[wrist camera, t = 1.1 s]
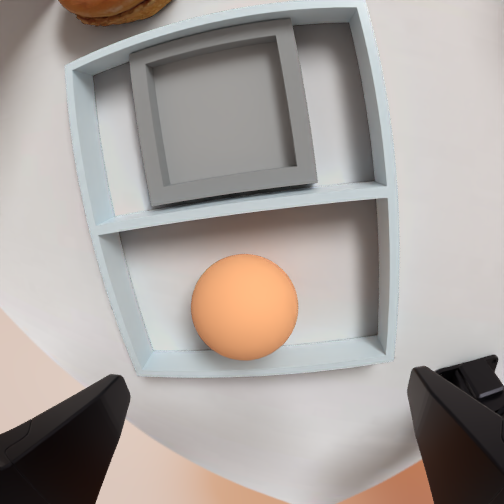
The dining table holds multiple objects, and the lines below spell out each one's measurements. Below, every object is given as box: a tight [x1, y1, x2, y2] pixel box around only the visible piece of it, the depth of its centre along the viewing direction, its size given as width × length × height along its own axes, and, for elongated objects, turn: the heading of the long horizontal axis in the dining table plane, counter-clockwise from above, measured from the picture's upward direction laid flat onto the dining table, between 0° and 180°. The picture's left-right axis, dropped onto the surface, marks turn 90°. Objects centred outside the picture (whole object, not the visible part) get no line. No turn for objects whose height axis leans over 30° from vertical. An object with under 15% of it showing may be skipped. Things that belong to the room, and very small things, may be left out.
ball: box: [191, 254, 298, 360], centre depth 18 cm, size 6×6×6 cm
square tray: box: [129, 18, 318, 206], centre depth 17 cm, size 10×10×2 cm
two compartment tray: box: [65, 0, 400, 378], centre depth 18 cm, size 22×18×2 cm
